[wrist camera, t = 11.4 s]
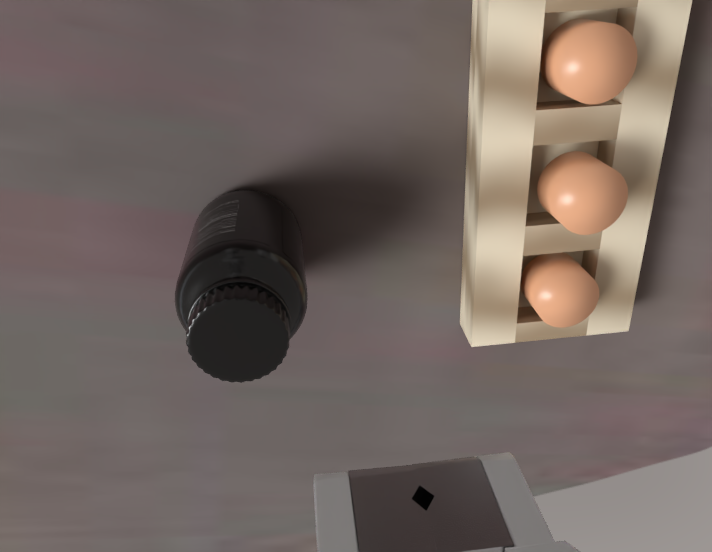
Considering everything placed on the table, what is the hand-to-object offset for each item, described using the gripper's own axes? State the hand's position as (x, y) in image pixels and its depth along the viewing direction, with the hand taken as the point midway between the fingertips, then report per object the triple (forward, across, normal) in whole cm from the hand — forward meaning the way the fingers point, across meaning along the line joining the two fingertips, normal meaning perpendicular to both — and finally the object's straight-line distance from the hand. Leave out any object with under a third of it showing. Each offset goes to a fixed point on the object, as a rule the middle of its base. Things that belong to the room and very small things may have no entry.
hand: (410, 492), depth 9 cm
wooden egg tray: (+29, -14, +5) cm, 33 cm away
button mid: (+26, -15, +5) cm, 30 cm away
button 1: (+27, -15, +12) cm, 33 cm away
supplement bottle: (+29, +5, +8) cm, 31 cm away
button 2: (+27, -14, -2) cm, 31 cm away
